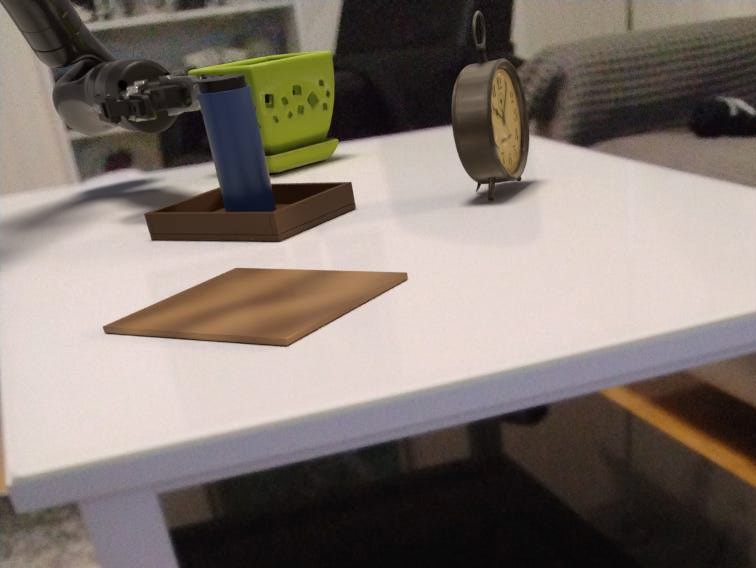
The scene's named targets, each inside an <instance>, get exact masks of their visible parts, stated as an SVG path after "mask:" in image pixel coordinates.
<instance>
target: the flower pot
mask: <svg viewBox="0 0 756 568" xmlns="http://www.w3.org/2000/svg"><path fill="white" fill-rule="evenodd" d="M203 74H205V75H222V74H224V75H235V74H244V75H245V78H246V83H247V85H250V87H251V92H252V97H253V101H254V106H255V111H256V115H257V120H258V125H259V129H260V134H261V139H262V143H263V148H264V153H265V157H266V162H267V167H268V171H269V174H273V173H274V174H275V173H276V174H277V173H278V174H279V173H283V172H284V171H288V170H292V169H296V168H300V167H303V166H306V165H310V164H314V163H317V162H318V163H319V162H323V161H324V162H325V161H327V160H328V159H330V158H331V157H332V156H333V154H334V153H335V152H336V151H337V148H338V146H339V139H338V138H327V137H328V133H329V130H330V127H331V123H332V117H333V112H334V111H333V110H334V104H335V69H334V60H333V54H332V51H330V50H318V51H316V50H315V51H305V52H292V53H284V54H283V53H282V54H273V55H267V56H260V57H256V58H255V57H254V58H250V59H249V58H248V59H243V60H239V61H234V62H227V63H222V64H216V65H210V66H204V67H200V68H196V69H195V68H193V69H191V70H188V72H187V76H189V75H195V76H197V78H198V77H199V76H201V75H203ZM293 91H294V92H293ZM266 95H268V100H269V101H268V102H266ZM199 111H200V113H202V111H201V109H200V110H199Z"/></svg>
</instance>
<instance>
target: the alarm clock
mask: <svg viewBox="0 0 756 568" xmlns="http://www.w3.org/2000/svg"><path fill="white" fill-rule="evenodd" d="M478 16H479V18H480V22H481V27H482V43H479V44H478V40H477V35H476V33H477V31H476V29H477V19H478ZM486 31H487V30H486V23H485V18H484V15H483V13H482V12H481V10H476V11H475V13H474V15H473V19H472V37H473V43H474V46H475V51H476V52H477V63H471V64H468V65H465V67H464V68H462V70H461V71H460V72H459V73H458V75H457V78H456V80H455V83H454V86H453V90H452V95H451V96H452V97H451V107H450V108H451V109H450V110H451V111H450V112H451V114H450V115H451V127H452V136H453V140H454V145H455V149H456V152H457V155H458V159H459V161H460V163H461V166H462V167H463V169H464V171H465V172H466V174H467V175H468V176H469V178H470V179H471V180H472V181H474V182H475V183H477V186H476V189H475V193H477V192H478V191H479V189H480V188H481V186H482V185H488V194H489V195H488V196H487V200H488V202H493V201H494V200H495V196H494V194H495V191H496V184H500V183H507V182H516V181H517V182H521V181H522V176H523V174H524V171H525V169H526V167H527V162H528V157H529V152H530V151H529V150H530V120H529V111H528V106H527V105H528V104H527V98H526V94H525V90H524V87H523V83H522V81H521V78H520V75H519V73H518V71H517V69H516V67H515V66H514V65H513V64H512V63H511V62H510V61H509V60H508V59H506V58H499V59H494V60H488V57H487V54H486V51H487V47H486V40H487V39H486V38H487V35H486Z"/></svg>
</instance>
